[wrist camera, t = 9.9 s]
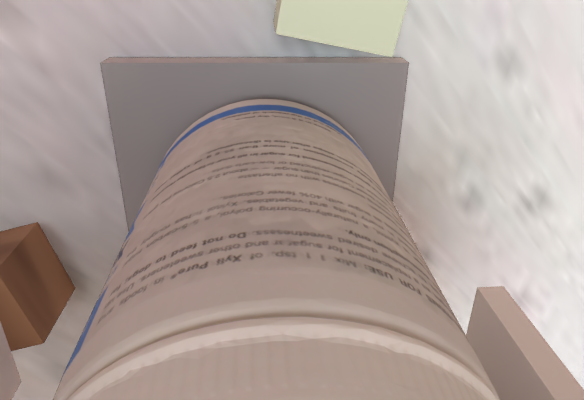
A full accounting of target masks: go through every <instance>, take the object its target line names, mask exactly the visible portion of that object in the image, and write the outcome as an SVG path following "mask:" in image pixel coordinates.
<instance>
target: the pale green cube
mask: <svg viewBox="0 0 584 400" xmlns="http://www.w3.org/2000/svg"><path fill="white" fill-rule="evenodd" d="M407 3H408V0H277V3H276V9H275V15H274V21H273V22H274V27H275V32H276V34H278V35H283V36H288V37H293V38H298V39H303V40H308V41H313V42H318V43H323V44H328V45H333V46H338V47H343V48H348V49H353V50H358V51H363V52H368V53H373V54H378V55H383V56H388V57H393V53H394V50H395V46H396V42H397V39H398V35H399V32H400V28H401V25H402V21H403V18H404V14H405V11H406V7H407Z"/></svg>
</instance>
